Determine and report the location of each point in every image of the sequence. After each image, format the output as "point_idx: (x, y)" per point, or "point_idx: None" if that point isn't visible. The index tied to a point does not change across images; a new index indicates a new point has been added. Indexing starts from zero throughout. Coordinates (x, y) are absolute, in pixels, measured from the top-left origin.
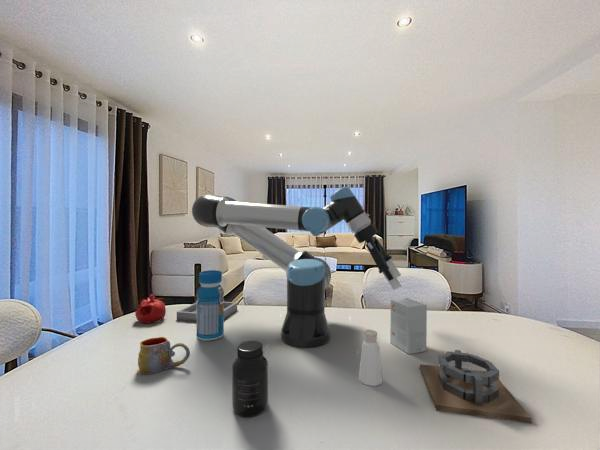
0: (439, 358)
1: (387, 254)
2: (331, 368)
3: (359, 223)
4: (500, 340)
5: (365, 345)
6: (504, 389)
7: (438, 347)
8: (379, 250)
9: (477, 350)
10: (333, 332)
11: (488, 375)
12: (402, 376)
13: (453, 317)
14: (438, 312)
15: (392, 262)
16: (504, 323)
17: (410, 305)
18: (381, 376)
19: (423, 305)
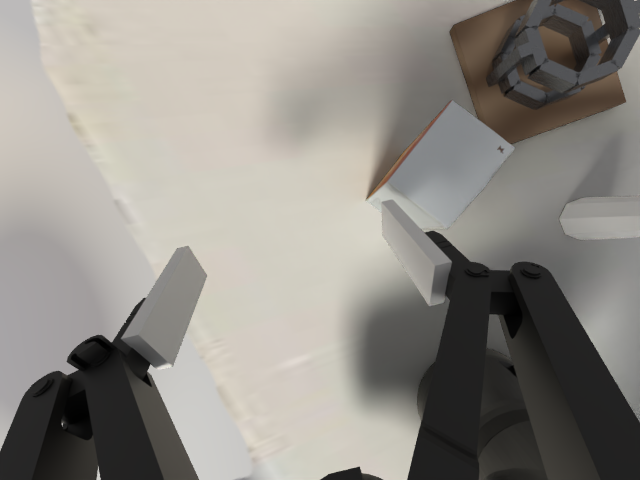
0: (586, 82)
1: (58, 396)
2: (578, 293)
3: None
4: (248, 16)
5: None
6: (514, 6)
7: (367, 133)
8: (475, 464)
9: (338, 60)
10: (412, 358)
11: None
12: (537, 172)
13: (136, 125)
14: (114, 165)
15: (152, 312)
16: (112, 6)
17: (494, 147)
18: (594, 197)
19: (463, 109)
